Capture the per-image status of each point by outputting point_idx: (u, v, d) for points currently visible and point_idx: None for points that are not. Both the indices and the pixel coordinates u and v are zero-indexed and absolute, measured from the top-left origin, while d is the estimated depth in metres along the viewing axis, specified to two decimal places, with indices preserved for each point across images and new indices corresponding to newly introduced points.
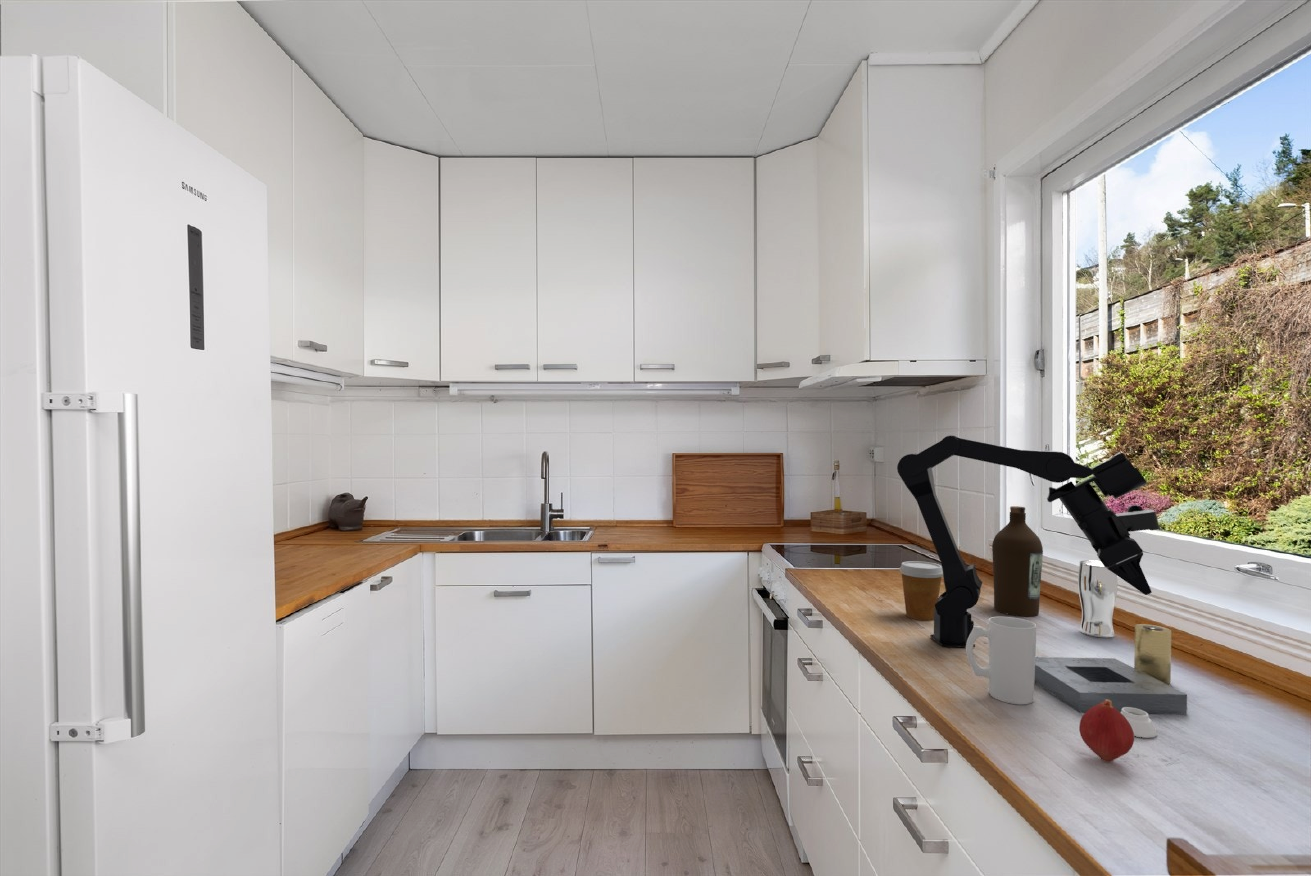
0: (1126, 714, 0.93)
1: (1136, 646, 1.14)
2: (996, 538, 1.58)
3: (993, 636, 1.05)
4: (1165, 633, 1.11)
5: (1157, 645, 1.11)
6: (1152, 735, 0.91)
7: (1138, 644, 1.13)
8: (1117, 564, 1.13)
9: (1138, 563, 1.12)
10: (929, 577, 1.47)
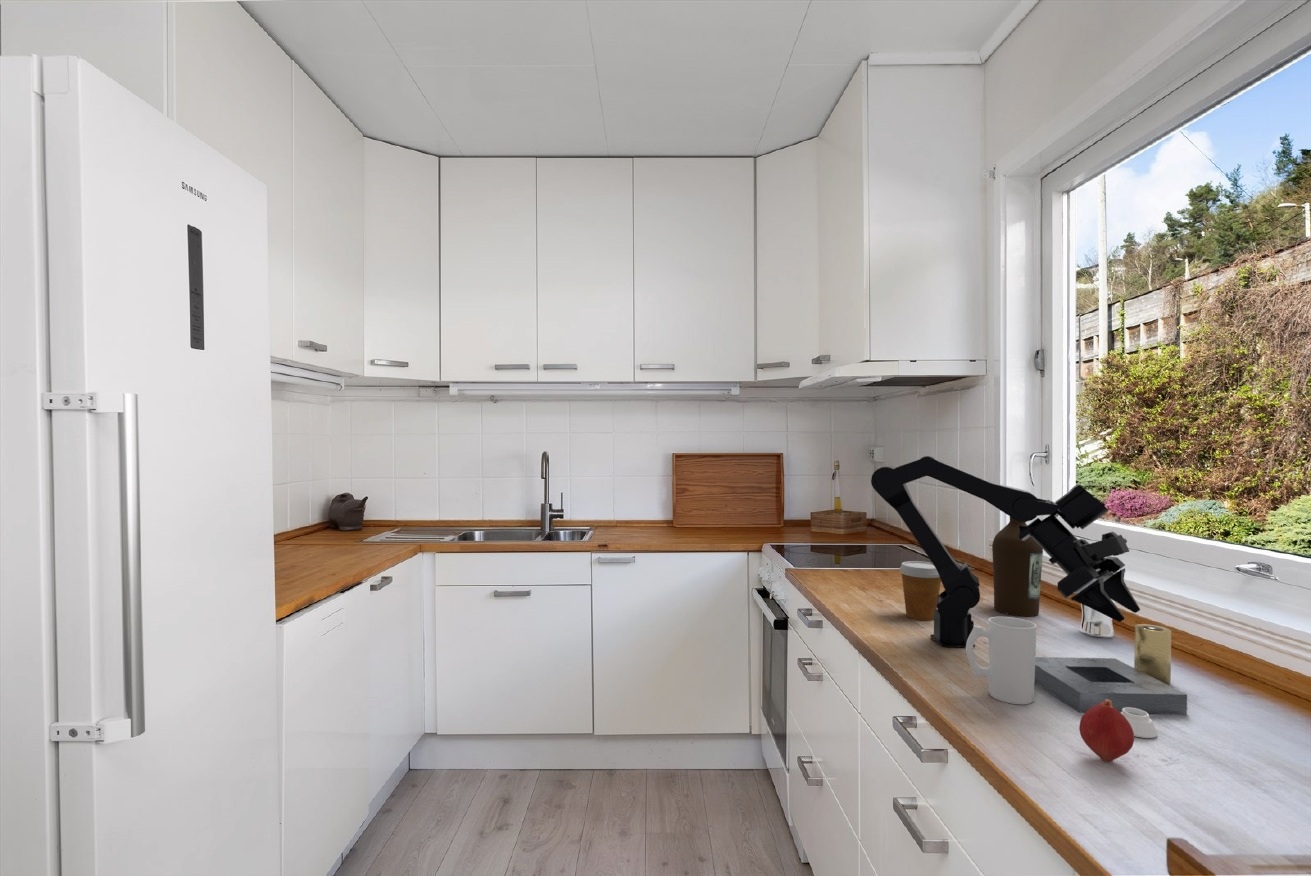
0: (1127, 714, 0.93)
1: (1136, 646, 1.14)
2: (996, 538, 1.58)
3: (993, 636, 1.05)
4: (1165, 633, 1.11)
5: (1157, 645, 1.11)
6: (1153, 735, 0.91)
7: (1138, 644, 1.13)
8: (1077, 594, 1.15)
9: (1099, 590, 1.14)
10: (929, 577, 1.47)
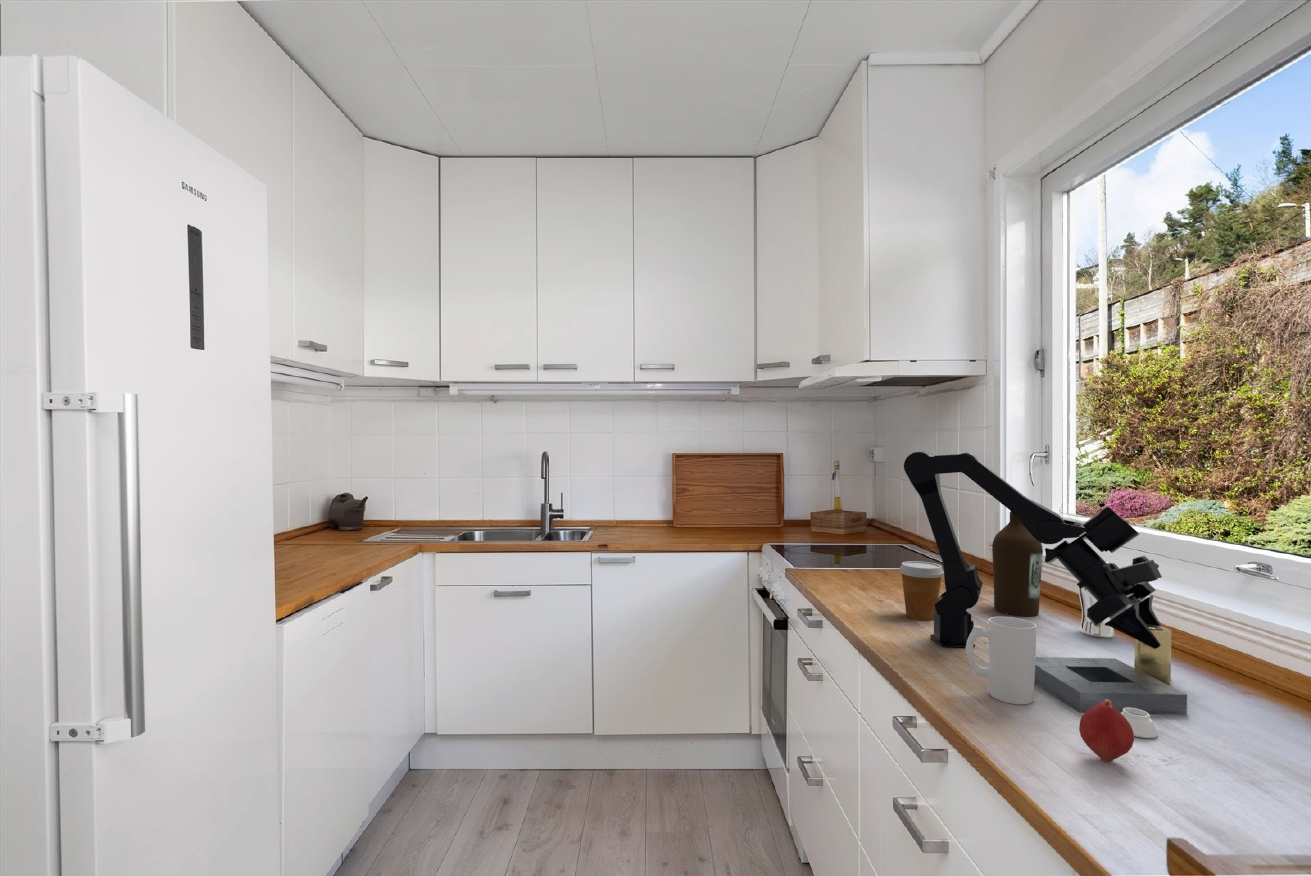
0: (1127, 714, 0.93)
1: (1136, 646, 1.14)
2: (996, 538, 1.58)
3: (993, 636, 1.05)
4: (1165, 633, 1.11)
5: None
6: (1153, 735, 0.91)
7: (1138, 644, 1.13)
8: (1111, 619, 1.13)
9: (1135, 616, 1.11)
10: (929, 577, 1.47)
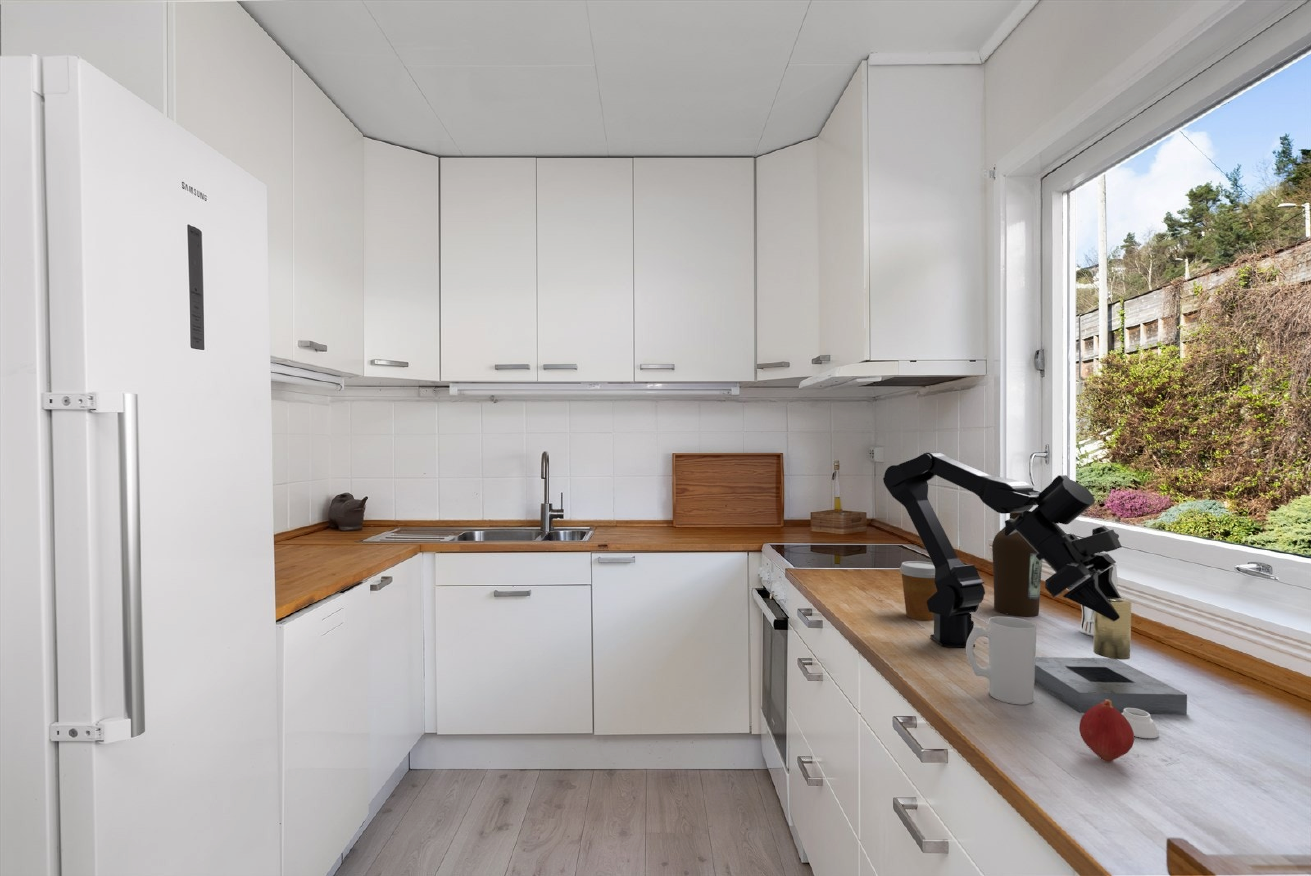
0: (1128, 715, 0.93)
1: (1095, 619, 1.09)
2: (996, 538, 1.58)
3: (993, 636, 1.05)
4: (1125, 604, 1.06)
5: None
6: (1154, 736, 0.91)
7: (1098, 617, 1.09)
8: (1070, 591, 1.08)
9: (1094, 587, 1.07)
10: (929, 577, 1.47)
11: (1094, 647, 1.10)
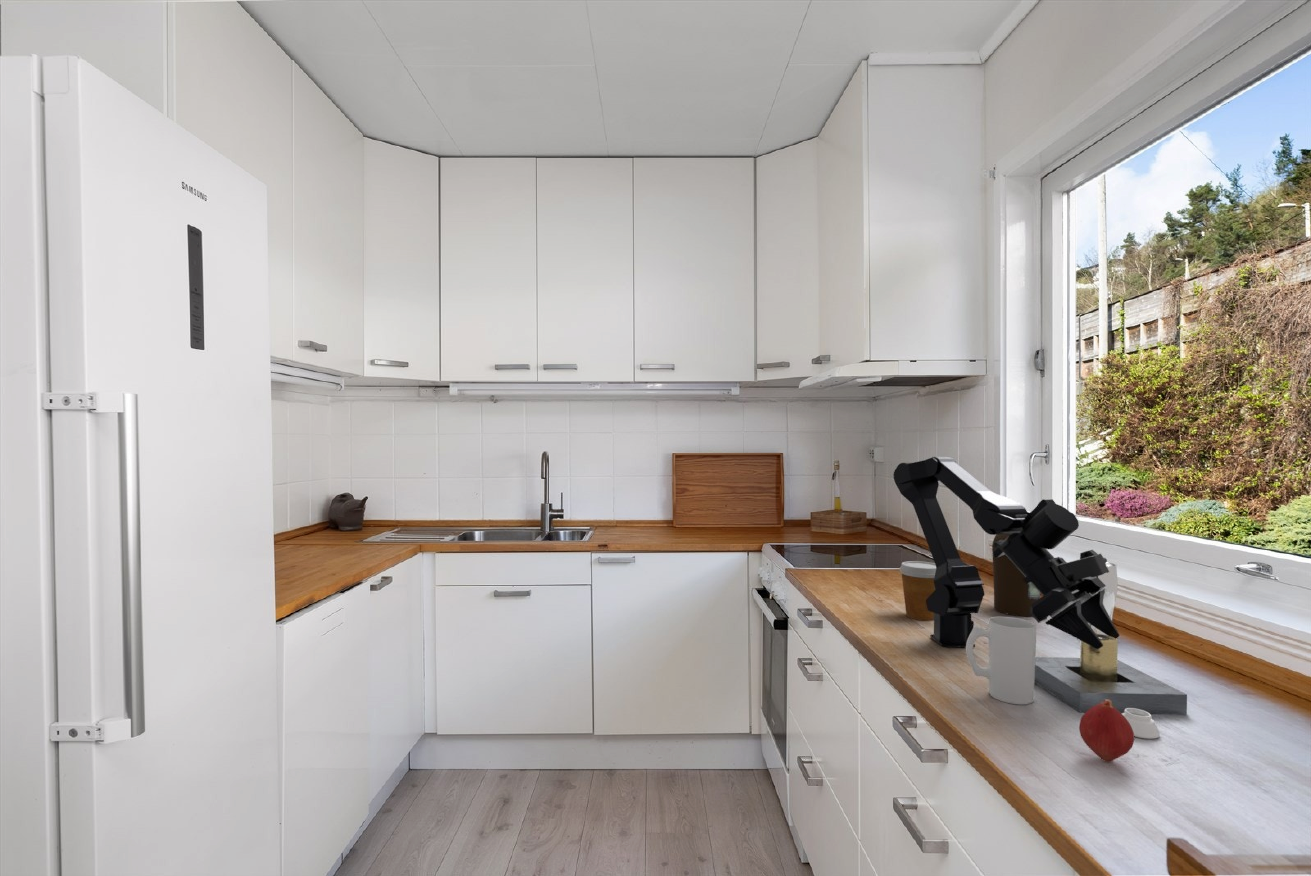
0: (1129, 715, 0.93)
1: (1081, 656, 1.08)
2: (996, 538, 1.58)
3: (993, 636, 1.05)
4: (1111, 643, 1.05)
5: (1102, 656, 1.05)
6: (1155, 736, 0.91)
7: (1084, 655, 1.07)
8: (1052, 617, 1.06)
9: (1076, 614, 1.05)
10: (929, 577, 1.47)
11: None
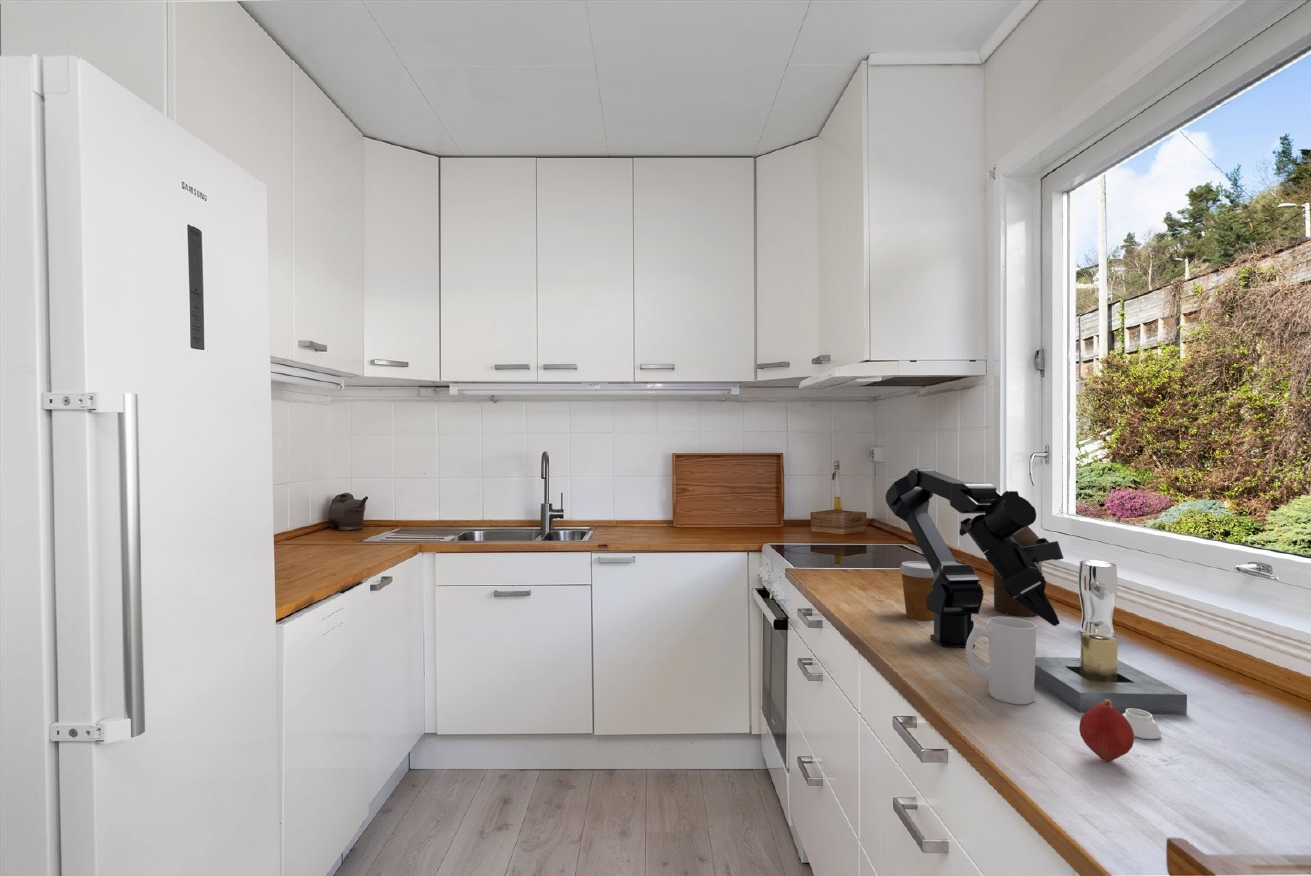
0: (1130, 715, 0.93)
1: (1082, 656, 1.08)
2: None
3: (993, 636, 1.05)
4: (1111, 643, 1.05)
5: (1102, 656, 1.05)
6: (1156, 736, 0.91)
7: (1084, 655, 1.07)
8: (1022, 593, 1.11)
9: (1043, 592, 1.11)
10: (929, 577, 1.47)
11: None
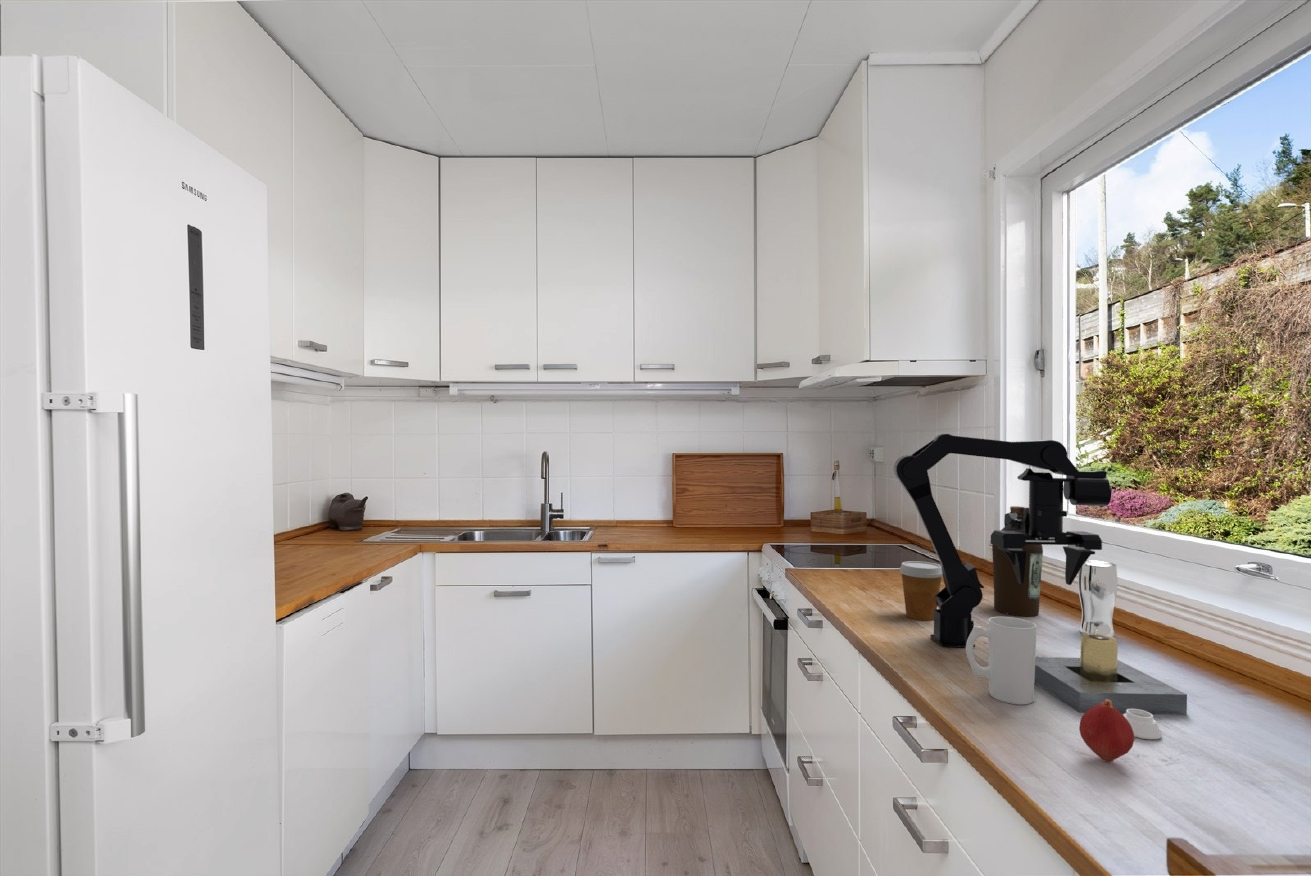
0: (1131, 715, 0.93)
1: (1082, 656, 1.08)
2: None
3: (993, 636, 1.05)
4: (1111, 643, 1.05)
5: (1102, 656, 1.05)
6: (1157, 737, 0.91)
7: (1084, 655, 1.07)
8: (1090, 550, 1.27)
9: None
10: (929, 577, 1.47)
11: None
